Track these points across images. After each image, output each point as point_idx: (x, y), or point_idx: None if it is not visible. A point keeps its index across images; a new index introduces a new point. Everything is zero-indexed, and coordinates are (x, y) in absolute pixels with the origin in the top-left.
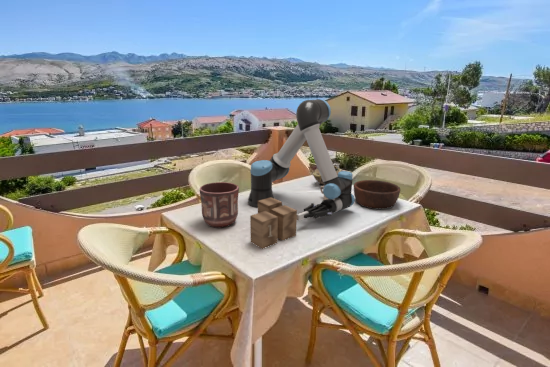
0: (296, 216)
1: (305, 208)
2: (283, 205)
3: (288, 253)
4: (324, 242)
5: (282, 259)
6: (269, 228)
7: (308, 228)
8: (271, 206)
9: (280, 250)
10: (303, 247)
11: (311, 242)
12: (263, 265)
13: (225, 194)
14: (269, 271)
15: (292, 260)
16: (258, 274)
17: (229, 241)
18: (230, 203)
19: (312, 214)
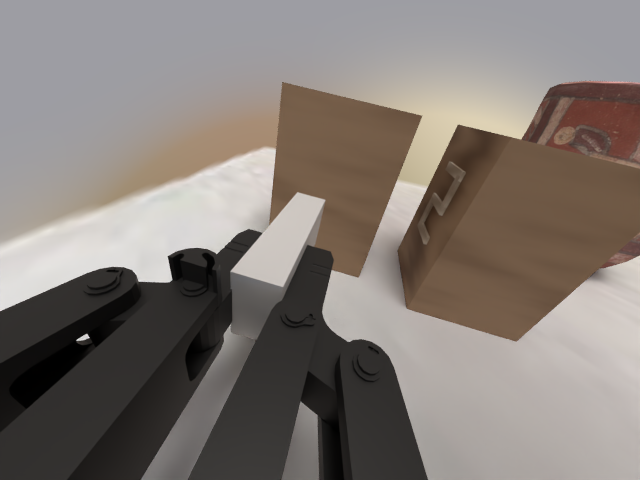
0: (278, 135)
1: (388, 419)
2: (419, 115)
3: (240, 178)
4: (75, 238)
5: (245, 167)
6: None
7: (219, 363)
8: (459, 138)
9: (269, 184)
10: (200, 198)
11: (167, 224)
12: (272, 158)
13: (551, 92)
14: (252, 152)
15: (218, 166)
16: (266, 149)
17: (399, 193)
18: (535, 141)
19: (157, 287)
